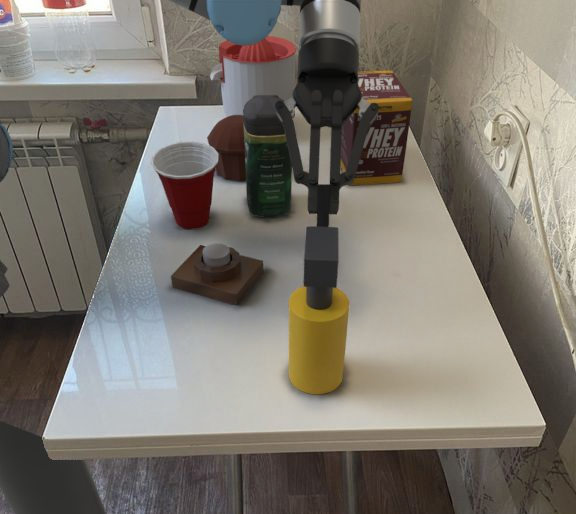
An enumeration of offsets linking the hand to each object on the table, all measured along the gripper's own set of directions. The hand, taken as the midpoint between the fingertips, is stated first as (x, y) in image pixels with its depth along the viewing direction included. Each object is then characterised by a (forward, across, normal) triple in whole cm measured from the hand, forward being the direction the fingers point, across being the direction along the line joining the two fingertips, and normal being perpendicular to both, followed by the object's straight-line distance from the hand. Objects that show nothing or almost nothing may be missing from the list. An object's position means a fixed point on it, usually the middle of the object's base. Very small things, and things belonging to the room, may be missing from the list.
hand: (322, 239), depth 76 cm
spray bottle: (+17, 0, -4) cm, 17 cm away
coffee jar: (-13, +9, -34) cm, 38 cm away
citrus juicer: (-35, +15, -56) cm, 67 cm away
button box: (+3, +15, -18) cm, 24 cm away
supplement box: (-24, -9, -46) cm, 52 cm away
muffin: (-22, +16, -44) cm, 51 cm away
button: (0, +15, -16) cm, 22 cm away
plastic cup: (-9, +22, -30) cm, 38 cm away
